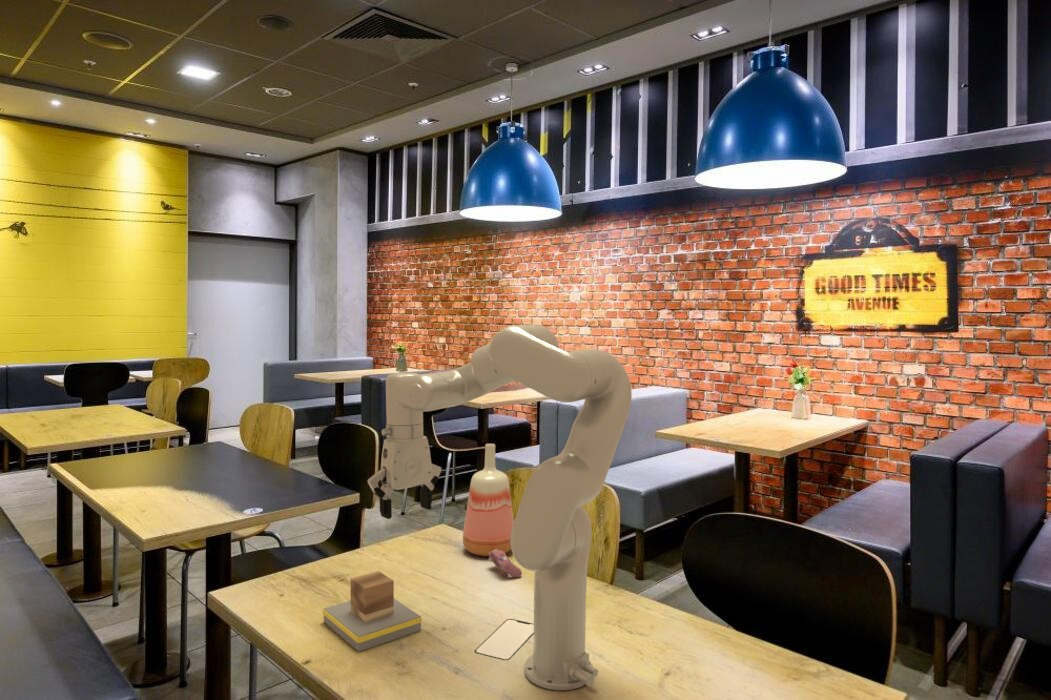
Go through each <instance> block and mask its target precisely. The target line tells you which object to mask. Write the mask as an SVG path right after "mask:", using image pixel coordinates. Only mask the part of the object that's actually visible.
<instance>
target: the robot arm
mask: <svg viewBox="0 0 1051 700" xmlns="http://www.w3.org/2000/svg"><path fill="white" fill-rule="evenodd" d="M559 347H560V346H559V341H558V339H557V337H556V335H555V334H554V333H553V331H551V330H550V329H549V328H547V327H546V326H543V325H537V324H523V325H510V326H509V325H508V326H506V327H503V328H502V329H500V330H499V331H498V332H497V333H495V335H494V336H493V337H492V339H491V342H489V343H487V344H485V345H482V346H480V347H477V348H476V349H475V350H473V352H472V354H471V357H470V362H468V363H467V364H464V365H462V366H460V367H457V368H453V369H452V370H447V371H446V370H445V371H436V372H430V373H421V374H419V373H417V372H410V371H409V372H408V371H407V372H395V373H394V372H393V373H390V374H388V375H387V376H386V379H385V407H386V408H385V410H386V412H385V414H386V424H385V428H383V429H381V435H382V436H385V437H386V439H384V440H383V445H382V451H381V458H380V459H381V463H380V470H378V471H377V472H376V473H375V474H373V475H372V476H371V477H369V478H368V479H367V484H368V485H369V487H370V489H371V492H372V493H373V494H374V495H375V496H376V497H377V498H379V513H380V516H381V517H382V518H384V519H388V520H390V519H392V517H393V516H392V515H393V514H392V512H393V510H392V499H390V496H392V493H393V492H394V491H395V490H396V491H399V490H404V489H409V488H415V487H419V486H421V487H422V488H420V490H419V491H420V501H419V502H420V503H419V504H420V507H421V508H424V509H425V510H428V511H429V510H432V503H433V500H432V499H433V495H432V494H433V490H434V489H435V486H436V484H437V482H438V481H439V477H440V475H441V472H442V467H441V466H440V465H439V466H438V465H437V464H434V463H432V458H431V450H430V445H429V440H428V437H427V436H425V435H424V412H433V411H437V410H441V409H446V408H452V407H457V406H461V405H462V404H463V405H464V404H466V403H469V402H470V401H473V400H475V399H478V398H481V397H483V396H485V395H488V394H489V393H491V392H493V391H495V390H497V389H498V388H500V387H504V386H506V385H508V384H511V383H513V382H517V383H520V384H521V385H524V386H525V387H526V388H528V389H531V390H533V391H535V392H537V393H539V394H540V395H542V396H545V397H547V398H549V399H551V400H553V401H557V402H560V403H574V402H578V401H581V400H584V402H583V405H582V407H581V409H580V411H579V413H578V414H577V416H576V418H575V419H574V421H573V423H572V426H571V430H570V432H569V436H568V438H567V440H566V443H565V446H564V448H563V450H562V451H561V452H560V453H559V454H558V455H556V456H553V457H550V458H548V459H546V460H544V461H542V462H541V463H539V465H538V466H537V467H536V468H535V469H534V470H533V472H532V473H531V475H530V477H529V479H528V481H527V483H526V486H525V489H524V492H523V495H522V498H521V501H520V504H519V506H518V509H517V513H516V516H515V519H514V524H513V527H512V532H511V553H512V555H513V557H514V559H515V561H516V562H517V563H518V565H520V566H521V567H522V568H524V569H525V570H527V571H529V572H530V571H531V572H534V587H533V624H534V634H533V635H532V636H533V639H532V640H533V641H532V643H533V644H532V645H533V647H532V648H533V650H532V651H533V652H532V654H531V656H530V657H529V656H528V658H527V659H526V660H525V663H524V675H525V676H526V677H527V680H529V681H530V682H531V683H532V684H534V685H536V686H538V687H541V688H543V689H547V690H551V691H568V690H569V691H571V690H574V689H579V688H582V687H583V686H587V687H591V686H593V685H594V682H595V678H596V677H597V676H598V674H599V670H598V669H597V668H596V667H594V666H593V663H592V662H591V661H590V653H588V652H586V621H587V620H586V617H587V616H586V614H587V612H586V610H587V585H588V584H587V582H588V581H587V577H588V563H589V555H590V549H591V544H592V536H593V535H592V533H593V528H592V522H591V519H590V515H589V514H588V512H587V511H586V509H584V506H585V505H587V504H589V503H590V502H592V501H594V500H595V499H596V498H597V497H598V496H599V495H600V493H601V492H602V489H603V487H604V484H605V482H606V478H607V475H608V473H609V471H610V468H611V464H612V462H613V460H614V456H615V454H616V451H617V448H618V444H619V442H620V439H621V437H622V434H623V431H624V428H625V425H626V423H627V420H628V417H629V414H630V410H631V405H632V399H633V398H632V392H633V391H632V385H631V381H630V377H629V375H628V373H627V371H626V369H625V367H624V366H623V365H622V363H621V362H620V361H619V359H617V358H616V357H615V356H614V355H613V354H610V353H609V352H607V351H605V350H603V349H596V348H593V349H592V348H587V349H578V350H569V351H567V350H563V349H562V348H559ZM380 481H381V487H380V486H379V485H378V483H379V482H380Z"/></svg>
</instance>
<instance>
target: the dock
mask: <svg viewBox="0 0 1051 700" xmlns="http://www.w3.org/2000/svg"><path fill="white" fill-rule="evenodd" d="M322 615H323V623H324V622H325V623H326V624H327V625H326V624H325V623H324V624H325V625H326V626H328V627H329V629H331V630H332V629H333V630H334V633H336V635H338V636H339V635H340V636H339V637H340V638H341V639H342V640H344V641H345V642H346V643H347V644H348V645H350V646H351V647H352V648H354V649H355V650H356V651H357V652H362V651H366V650H367V649H370V648H374V647H376V646H379V645H382V644H386V643H388V642H391V641H394V640H397V639H400V638H403V637H406V636H408V635H412V634H415V633H418V632H420V631H421V630H422V616H421V615H420V614H418V613H416V612H415V611H414V610H412V609H410V608H409V607H408V606H406V605H404V604H403V603H401V602H400V601H399V600H397V599H396V598H394V613H393V614H390V615H387V616H384V617H381V618H377V619H374V620H371V621H368V622H364V621H363V620H361V619H360V618H359V617H357V616H356V615H355V614H354V613H352V612H351V600H348V601H344V602H342V603H341V602H340V603H337V604H335V605H331V606H328V607H324V608H323V609H322ZM333 630H332V631H333Z"/></svg>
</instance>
